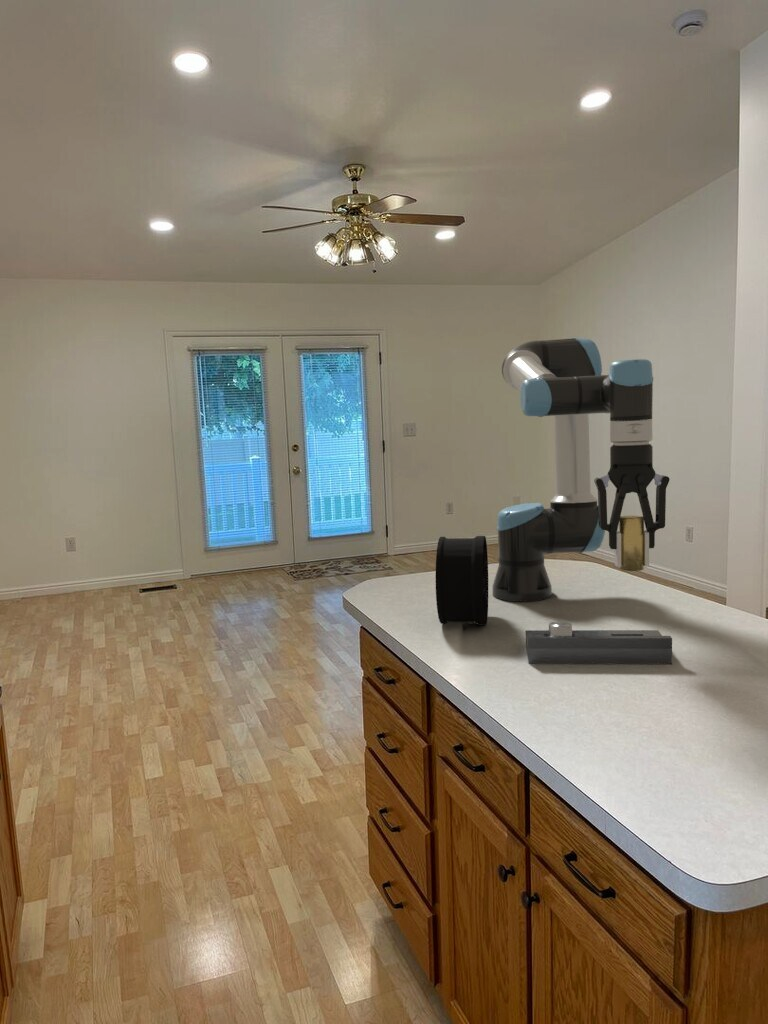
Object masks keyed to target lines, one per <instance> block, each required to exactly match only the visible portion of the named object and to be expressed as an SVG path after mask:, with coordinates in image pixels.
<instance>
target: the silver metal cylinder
mask: <svg viewBox="0 0 768 1024" xmlns="http://www.w3.org/2000/svg"><path fill="white" fill-rule="evenodd" d="M548 630H549V636H572V630H573V624H572V623H571V622H568V621H564V620H563V621H562V620H561V621H560V620H559V621H557V620H556V621H555V620H554V621H551V622H549V623H548Z"/></svg>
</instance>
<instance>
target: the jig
mask: <svg viewBox="0 0 768 1024" xmlns="http://www.w3.org/2000/svg"><path fill="white" fill-rule="evenodd" d="M524 634H525V649H526V655H527V662H528V664H529V665H530V664H533V665H534V664H535V665H537V664H539V665H540V664H541V665H543V664H546V665H547V664H548V665H550V664H552V665H559V664H561V665H568V664H569V665H673V637H672V636H671V635H662V633H661V632H660V630H658V629H657V630H656V629H653V630H652V629H644V630H643V629H642V630H640V629H639V630H638V629H629V630H628V629H625V630H624V629H622V630H621V629H620V630H619V629H615V630H614V629H613V630H611V629H610V630H609V629H607V630H605V629H604V630H603V629H601V630H597V629H596V630H595V629H594V630H593V629H590V630H589V629H587V630H583V629H581V630H580V629H579V630H577V629H576V630H575V629H574V630H573V629H572V636H549V629H547V630H545V629H544V630H541V629H540V630H536V629H534V630H533V629H532V630H530V629H529V630H525V631H524Z"/></svg>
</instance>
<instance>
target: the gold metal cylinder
mask: <svg viewBox="0 0 768 1024" xmlns="http://www.w3.org/2000/svg"><path fill="white" fill-rule="evenodd" d="M618 529H619V530H618V531H619V532H620V533H621V567H619V570H621V571H625V572H638V571H643V570H645V566H644V531H645V522H644V517H643V515H634V514H633V515H631V514H630V515H622V516H620V520H619V525H618Z"/></svg>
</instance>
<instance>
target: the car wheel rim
mask: <svg viewBox="0 0 768 1024" xmlns="http://www.w3.org/2000/svg"><path fill="white" fill-rule="evenodd" d="M436 546H437V547H436V554H435V555H436V556H435V600H436V610H437V616H438V621H439V623H440V624H442V625H443V624H444V625H445V624H447V623H475V624H476V625H487V623H488V619H489V617H488V616H489V559H488V557H489V556H488V544H487V537H486V535H477V536H475V537H471V538H470V537H469V538H467V537H463V538H459V537H458V538H453V537H452V538H450V537H449V538H448V537H445V536H440V537H439V538H438V541H437V545H436Z"/></svg>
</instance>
